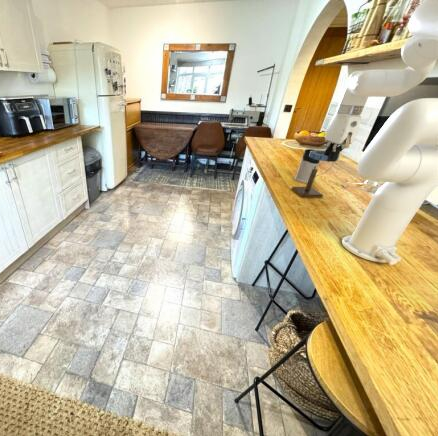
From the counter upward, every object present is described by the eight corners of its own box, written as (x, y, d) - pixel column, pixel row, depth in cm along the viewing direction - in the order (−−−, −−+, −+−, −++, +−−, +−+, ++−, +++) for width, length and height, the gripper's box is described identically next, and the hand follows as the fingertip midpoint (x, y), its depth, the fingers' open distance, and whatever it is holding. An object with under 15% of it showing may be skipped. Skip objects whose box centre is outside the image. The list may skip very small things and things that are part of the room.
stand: (321, 197, 106) (332, 173, 100) (301, 197, 106) (310, 172, 100) (310, 189, 113) (319, 166, 108) (291, 189, 114) (299, 166, 108)
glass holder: (298, 175, 130) (308, 147, 122) (327, 183, 120) (340, 154, 113) (291, 179, 125) (300, 150, 118) (320, 187, 116) (333, 157, 108)
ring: (343, 161, 95) (345, 156, 94) (318, 161, 95) (319, 156, 94) (327, 154, 104) (329, 150, 103) (304, 154, 104) (305, 149, 103)
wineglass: (349, 174, 112) (383, 176, 106) (345, 176, 118) (377, 179, 112) (346, 188, 112) (379, 191, 107) (342, 190, 118) (374, 193, 113)
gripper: (377, 113, 80) (352, 166, 89) (344, 108, 94) (325, 154, 103) (354, 113, 80) (332, 166, 89) (324, 107, 94) (308, 154, 103)
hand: (329, 159), depth 96 cm, fingers closed on ring, 2 cm apart
